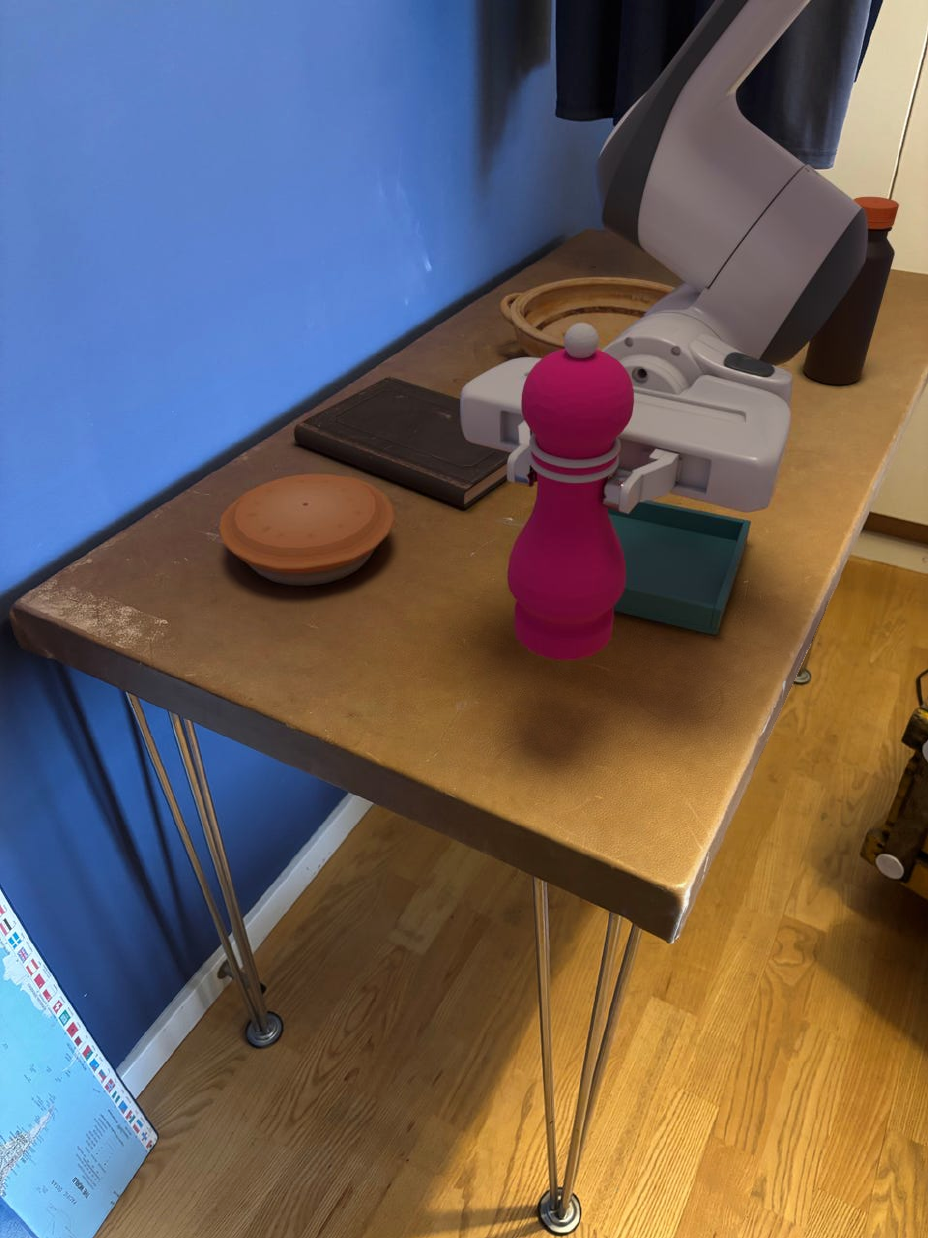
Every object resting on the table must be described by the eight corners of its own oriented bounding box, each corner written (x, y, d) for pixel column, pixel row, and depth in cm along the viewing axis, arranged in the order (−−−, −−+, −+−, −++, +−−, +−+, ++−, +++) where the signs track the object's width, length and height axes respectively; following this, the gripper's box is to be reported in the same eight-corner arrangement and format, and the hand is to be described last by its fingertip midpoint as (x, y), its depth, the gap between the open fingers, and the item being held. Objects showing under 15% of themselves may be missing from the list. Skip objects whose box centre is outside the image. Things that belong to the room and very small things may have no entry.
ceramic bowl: (753, 364, 115) (765, 301, 110) (679, 441, 99) (690, 372, 94) (547, 319, 128) (550, 260, 123) (453, 381, 112) (451, 317, 107)
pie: (191, 553, 83) (180, 506, 80) (323, 489, 92) (318, 445, 89) (296, 626, 75) (288, 576, 72) (430, 548, 84) (428, 501, 81)
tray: (745, 544, 84) (751, 520, 82) (716, 635, 74) (721, 610, 72) (567, 507, 89) (569, 484, 87) (516, 587, 79) (517, 563, 77)
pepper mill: (498, 660, 56) (501, 347, 44) (514, 590, 62) (520, 295, 49) (616, 672, 55) (653, 356, 43) (621, 600, 61) (655, 301, 48)
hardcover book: (389, 393, 109) (388, 375, 108) (551, 447, 99) (552, 428, 97) (294, 445, 99) (292, 426, 98) (463, 511, 89) (462, 491, 87)
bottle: (801, 381, 111) (842, 207, 99) (804, 360, 116) (843, 191, 103) (860, 389, 109) (909, 212, 97) (860, 366, 114) (907, 196, 102)
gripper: (516, 319, 63) (407, 396, 53) (820, 377, 54) (754, 480, 45) (514, 404, 66) (413, 490, 57) (798, 470, 58) (733, 582, 49)
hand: (566, 486), depth 51 cm, fingers closed on pepper mill, 5 cm apart
